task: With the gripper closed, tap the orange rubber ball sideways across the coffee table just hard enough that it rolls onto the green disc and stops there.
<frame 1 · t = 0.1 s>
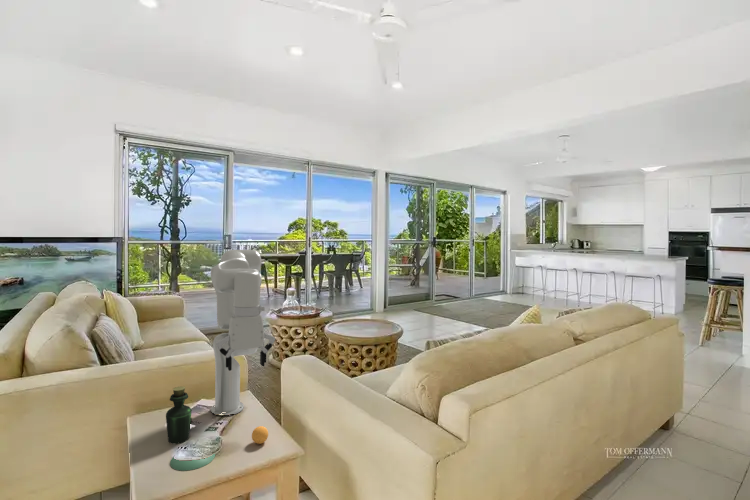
hand: (246, 367, 120), 31 cm above the table, tool pointing down, fingers open, 9 cm apart
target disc: (193, 458, 125), on the table
potion bottle: (178, 440, 136), on the table
ball: (260, 434, 135), on the table
build plate: (184, 428, 146), on the table
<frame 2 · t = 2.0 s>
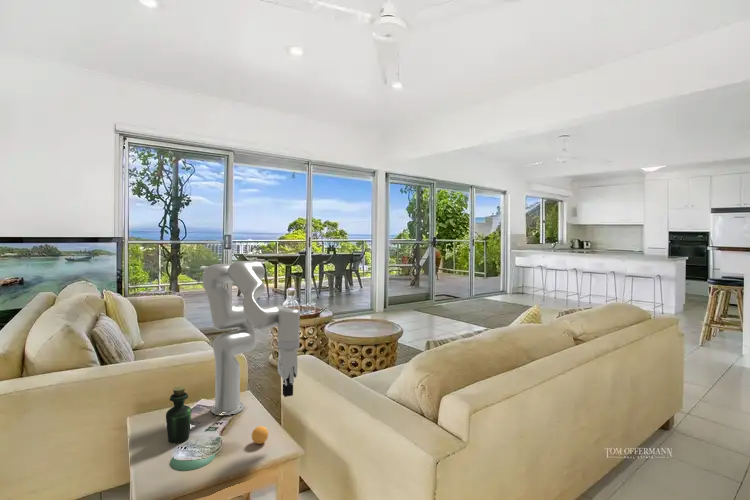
hand: (287, 395, 139), 15 cm above the table, tool pointing down, fingers closed
nothing on the table moved.
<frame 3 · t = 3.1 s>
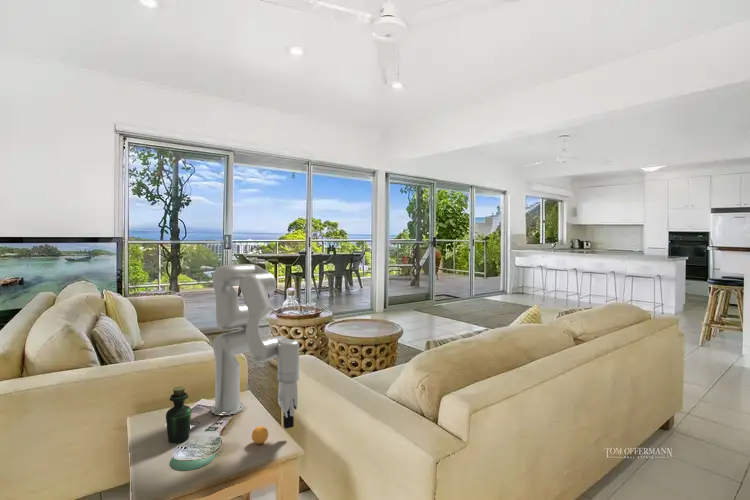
hand: (288, 426, 139), 4 cm above the table, tool pointing down, fingers closed
nothing on the table moved.
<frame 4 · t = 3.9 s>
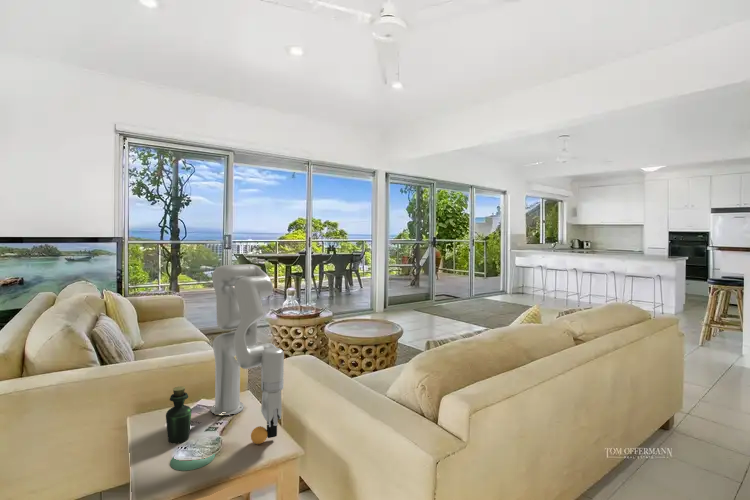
hand: (271, 436, 137), 1 cm above the table, tool pointing down, fingers closed
ball: (259, 435, 135), on the table, touching gripper
everything else where it was.
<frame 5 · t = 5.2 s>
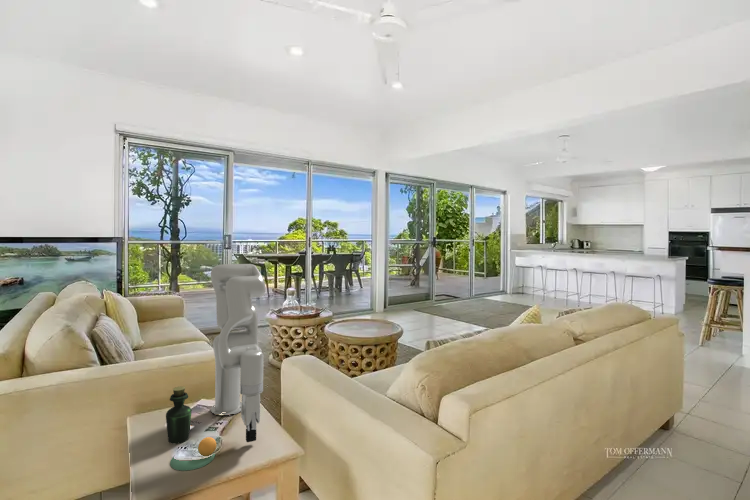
hand: (251, 440, 134), 2 cm above the table, tool pointing down, fingers closed
ball: (207, 446, 127), on the table
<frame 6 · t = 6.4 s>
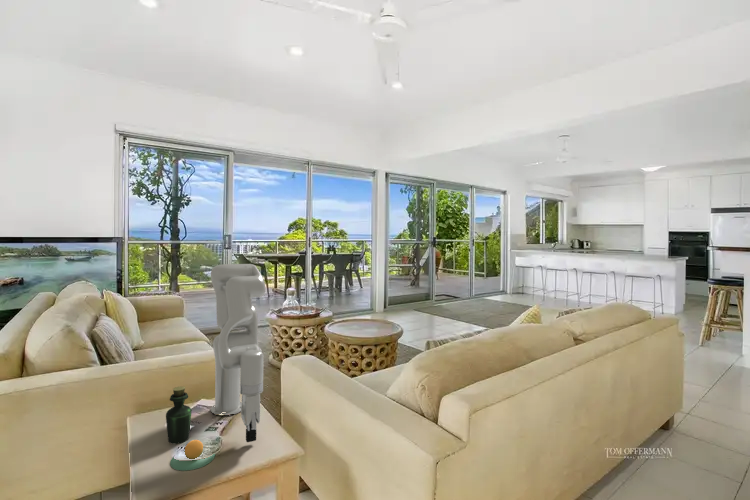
hand: (251, 440, 134), 2 cm above the table, tool pointing down, fingers closed
ball: (194, 449, 125), on the table
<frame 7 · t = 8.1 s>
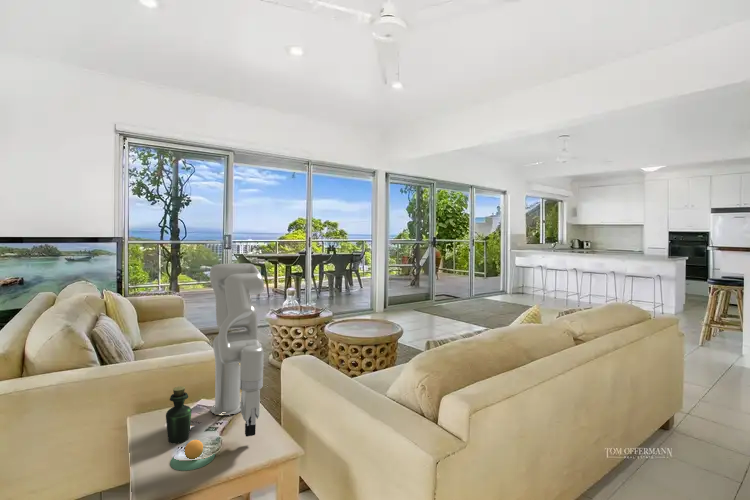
hand: (250, 434, 135), 3 cm above the table, tool pointing down, fingers closed
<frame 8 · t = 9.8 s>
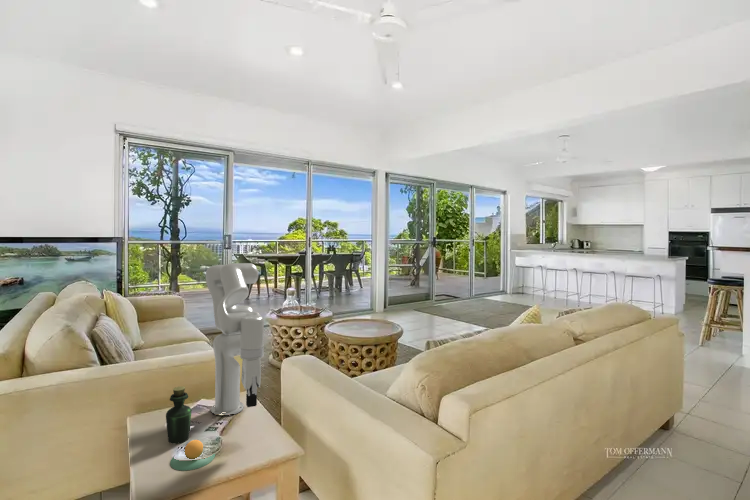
hand: (251, 405, 134), 13 cm above the table, tool pointing down, fingers closed
at the end: ball 0.5 cm from the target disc (horizontally); ball at rest at the end (0.0 cm/s); ball moved 20.8 cm from its start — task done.
